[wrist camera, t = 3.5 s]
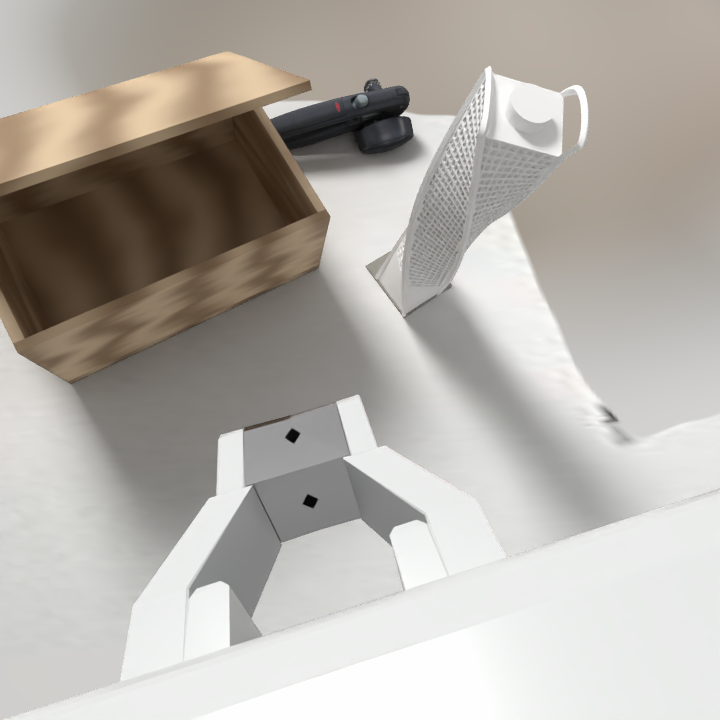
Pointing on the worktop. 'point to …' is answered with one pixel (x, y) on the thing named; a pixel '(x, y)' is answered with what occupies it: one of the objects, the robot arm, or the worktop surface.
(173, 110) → the lid flap
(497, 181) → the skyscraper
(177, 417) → the worktop surface
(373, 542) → the worktop surface
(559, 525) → the worktop surface
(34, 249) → the wooden box
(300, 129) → the can opener
